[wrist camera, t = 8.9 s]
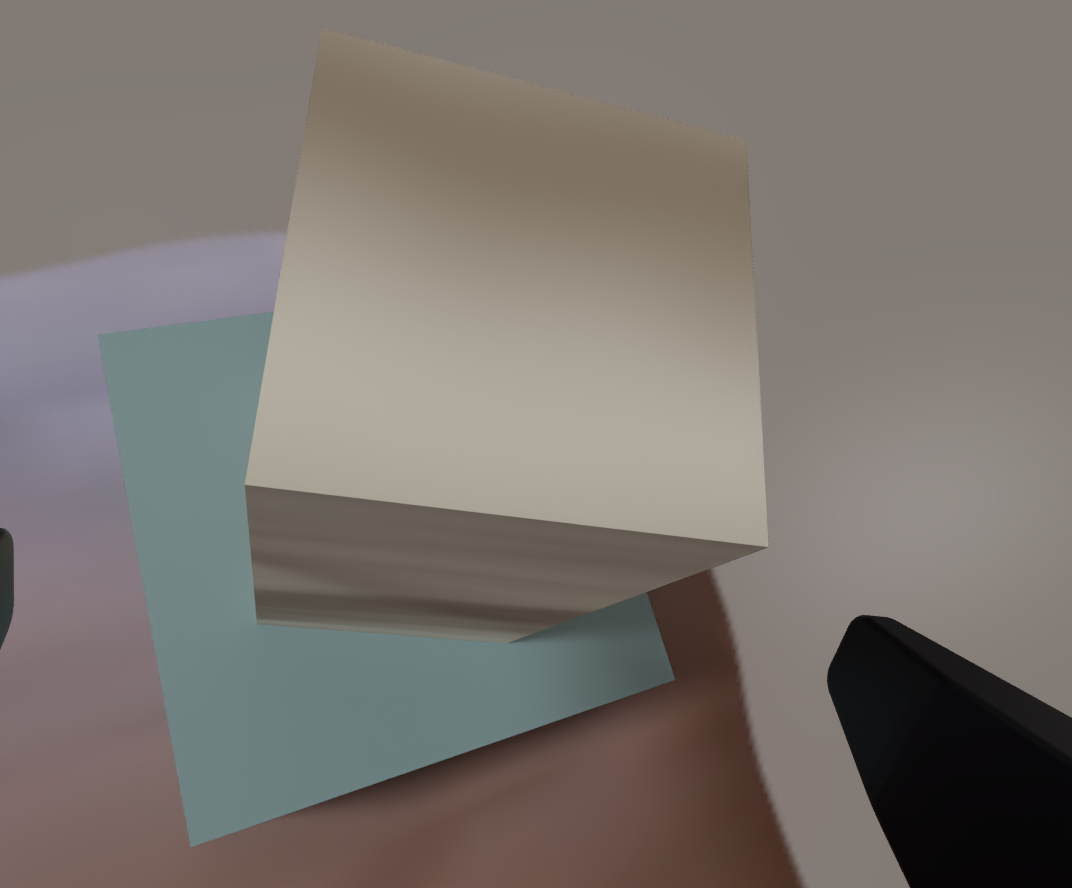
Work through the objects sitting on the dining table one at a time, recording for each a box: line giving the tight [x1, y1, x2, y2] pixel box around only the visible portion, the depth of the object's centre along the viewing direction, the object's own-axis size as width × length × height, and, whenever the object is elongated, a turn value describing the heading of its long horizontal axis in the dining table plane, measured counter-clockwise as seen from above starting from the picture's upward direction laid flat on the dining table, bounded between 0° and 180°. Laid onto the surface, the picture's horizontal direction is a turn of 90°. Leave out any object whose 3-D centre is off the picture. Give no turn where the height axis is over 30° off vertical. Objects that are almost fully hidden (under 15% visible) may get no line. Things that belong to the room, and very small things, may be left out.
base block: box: [98, 312, 675, 847], centre depth 19 cm, size 10×10×4 cm
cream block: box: [245, 28, 769, 643], centre depth 13 cm, size 5×5×10 cm
